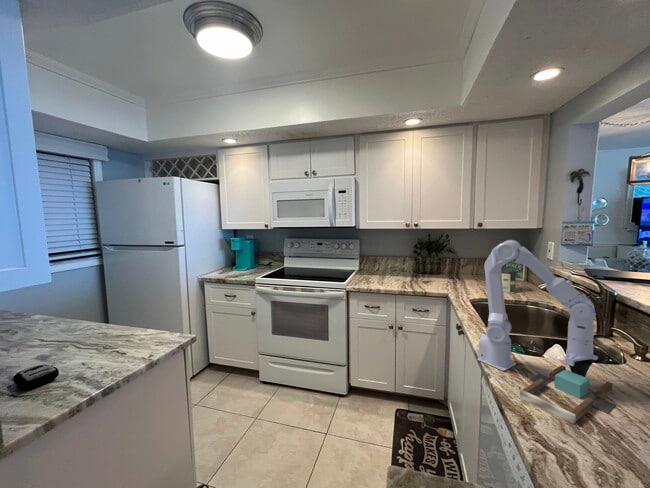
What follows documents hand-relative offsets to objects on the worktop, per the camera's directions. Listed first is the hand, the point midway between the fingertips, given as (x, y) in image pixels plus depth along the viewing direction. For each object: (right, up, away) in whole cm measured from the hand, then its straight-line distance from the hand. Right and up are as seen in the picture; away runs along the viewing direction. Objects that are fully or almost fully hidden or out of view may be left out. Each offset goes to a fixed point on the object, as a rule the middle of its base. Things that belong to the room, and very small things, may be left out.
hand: (578, 380), depth 86 cm
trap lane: (-6, -2, -3) cm, 7 cm away
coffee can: (+44, +10, +102) cm, 111 cm away
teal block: (-4, -2, -2) cm, 5 cm away
